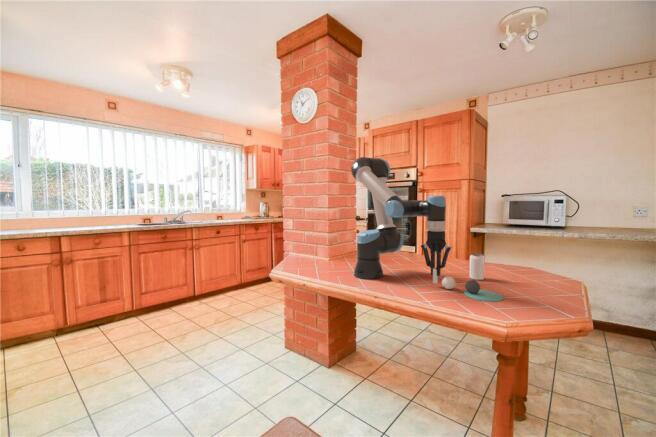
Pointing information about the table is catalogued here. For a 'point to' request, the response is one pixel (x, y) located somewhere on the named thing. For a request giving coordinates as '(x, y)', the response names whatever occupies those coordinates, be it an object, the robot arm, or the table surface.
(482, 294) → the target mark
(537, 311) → the table surface
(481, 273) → the can
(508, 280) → the table surface
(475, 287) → the object ball
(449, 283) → the cue ball
